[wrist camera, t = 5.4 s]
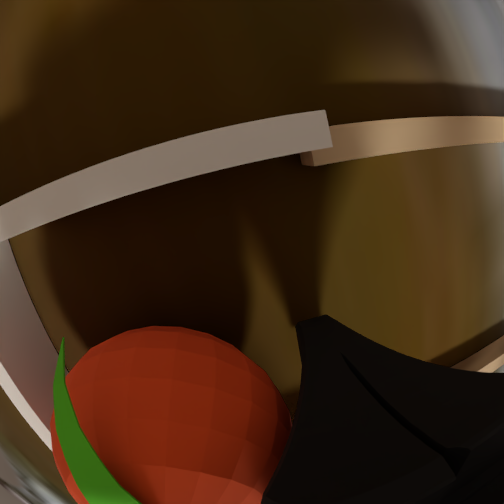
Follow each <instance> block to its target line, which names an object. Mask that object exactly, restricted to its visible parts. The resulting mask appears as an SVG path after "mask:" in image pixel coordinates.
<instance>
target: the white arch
mask: <svg viewBox="0 0 504 504" xmlns="http://www.w3.org/2000/svg"><path fill="white" fill-rule="evenodd" d="M330 147H333V145H332V140H331V135H330V130H329V125H328V120H327V116H326V111H325V110H318V111H311V112H304V113H297V114H290V115H284V116H278V117H272V118H267V119H261V120H256V121H251V122H246V123H241V124H236V125H232V126H227V127H223V128H218V129H214V130H210V131H206V132H201V133H197V134H194V135H190V136H186V137H182V138H178V139H175V140H171V141H168V142H164V143H161V144H157V145H154V146H151V147H147V148H144V149H141V150H138V151H135V152H131V153H128V154H125V155H122V156H119V157H116V158H113V159H111V160H108V161H105V162H102V163H99V164H97V165H94V166H91V167H89V168H86V169H83V170H81V171H78V172H76V173H73V174H71V175H68V176H66V177H63V178H61V179H58V180H56V181H54V182H51V183H49V184H47V185H44V186H42V187H40V188H37V189H35V190H33V191H31V192H29V193H27V194H24V195H22V196H20V197H18V198H16V199H14V200H12V201H10V202H8V203H6V204H4V205H2V206H0V385H1V386H2V388H3V389H4V391H5V392H6V394H7V395H8V397H9V398H10V399H11V401H12V402H13V404H14V405H15V406H16V408H17V409H18V410H19V412H20V413H21V414H22V416H23V417H24V418H25V420H26V421H27V422H28V423H29V425H30V426H31V427H32V428H33V430H34V431H35V432H36V433H37V434H38V436H39V437H40V438H41V439H42V440H43V441H44V443H45V444H46V445H47V446H48V447H49V448H50V449H51V450H52V442H51V431H50V421H51V417H52V413H53V409H54V398H53V382H54V376H55V371H56V366H57V361H58V356H59V355H58V353H57V352H56V350H55V348H54V346H53V344H52V342H51V340H50V338H49V337H48V335H47V333H46V331H45V329H44V327H43V325H42V323H41V321H40V318H39V316H38V314H37V312H36V310H35V308H34V306H33V303H32V301H31V299H30V296H29V294H28V292H27V289H26V287H25V285H24V282H23V280H22V277H21V275H20V272H19V269H18V267H17V264H16V261H15V258H14V256H13V253H12V250H11V247H10V244H9V241H8V239H9V238H11V237H14V236H16V235H18V234H21V233H23V232H26V231H28V230H31V229H33V228H36V227H38V226H41V225H43V224H46V223H49V222H51V221H54V220H56V219H59V218H62V217H65V216H67V215H70V214H73V213H76V212H78V211H81V210H84V209H87V208H90V207H93V206H96V205H99V204H102V203H105V202H108V201H111V200H114V199H117V198H120V197H123V196H127V195H130V194H133V193H136V192H140V191H143V190H146V189H150V188H153V187H157V186H160V185H164V184H167V183H171V182H174V181H178V180H182V179H186V178H189V177H193V176H197V175H201V174H205V173H209V172H213V171H217V170H221V169H225V168H230V167H234V166H238V165H243V164H247V163H252V162H256V161H261V160H266V159H270V158H275V157H280V156H285V155H291V154H296V153H301V152H307V151H312V150H318V149H324V148H330ZM68 373H69V372H68V371H67V369H66V367H65V377H66V376H67V374H68ZM52 452H53V451H52Z"/></svg>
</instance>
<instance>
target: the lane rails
mask: <svg viewBox="0 0 504 504" xmlns="http://www.w3.org/2000/svg"><path fill="white" fill-rule="evenodd" d="M329 130H330V135H331V140H332V145H333V147H330V148H324V149H318V150H312V151H307V152H301V153H300V158H301V163H302V165H307V166H319V165H325V164H330V163H336V162H341V161H347V160H353V159H359V158H365V157H372V156H378V155H385V154H392V153H399V152H406V151H414V150H422V149H430V148H439V147H448V146H458V145H469V144H481V143H495V142H504V117H495V116H441V117H418V118H402V119H389V120H377V121H367V122H358V123H350V124H341V125H334V126H329ZM503 364H504V335H503V336H502V337H500V338H499V339H497V340H496V341H494V342H493V343H491V344H490V345H488V346H486V347H485V348H483V349H482V350H480V351H478V352H477V353H475V354H473V355H472V356H470V357H468V358H466V359H465V360H463V361H461V362H459V363H458V364H456V365H454V366H452V367H450V368H455V369H461V370H468V371H477V372H488V373H492V372H493V371H495V370H496V369H498V368H499V367H500V366H502V365H503Z"/></svg>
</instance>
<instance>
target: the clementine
mask: <svg viewBox="0 0 504 504" xmlns="http://www.w3.org/2000/svg"><path fill="white" fill-rule="evenodd" d="M53 398H54V409H53V413H52V417H51V421H50V431H51V442H52V451H53V455H54V459H55V462H56V466H57V468H58V470H59V473H60V475H61V477H62V479H63V481H64V483H65V485H66V487H67V489H68V491H69V493H70V494H71V495H72V497H73V498H74V499H75V500H76V502H77V503H78V504H261V501H262V495H263V493H264V491H265V489H266V487H267V485H268V483H269V481H270V479H271V477H272V475H273V473H274V471H275V469H276V467H277V465H278V463H279V461H280V458H281V456H282V453H283V451H284V448H285V445H286V443H287V440H288V437H289V434H290V431H291V428H292V422H291V417H290V412H289V409H288V408H287V406H286V404H285V402H284V400H283V398H282V396H281V394H280V392H279V391H278V389H277V388H276V386H275V385H274V383H273V382H272V380H271V379H270V377H269V376H268V375H267V373H266V372H265V371H264V370H263V369H262V368H260V367H259V366H258V365H257V364H256V363H254V362H253V361H252V360H251V359H249V358H248V357H247V356H246V355H244V354H243V353H242V352H241V351H239V350H238V349H237V348H236V347H234V346H233V345H232V344H229V343H227V342H225V341H223V340H221V339H219V338H217V337H215V336H213V335H211V334H208V333H204V332H200V331H196V330H192V329H188V328H184V327H173V326H149V327H144V328H139V329H134V330H129V331H126V332H123V333H121V334H119V335H116V336H114V337H112V338H110V339H108V340H106V341H104V342H102V343H100V344H98V345H96V346H94V347H92V348H90V349H89V351H88V352H87V353H86V354H85V355H84V356H83V357H82V358H81V359H80V360H79V361H78V362H77V363H76V365H75V366H74V367H73V368H72V369H71V371H70V372H69V373H68V374H67V376H66V377H65V352H64V337H63V339H62V343H61V347H60V352H59V356H58V361H57V366H56V371H55V376H54V382H53Z"/></svg>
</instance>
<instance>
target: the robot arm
mask: <svg viewBox="0 0 504 504" xmlns="http://www.w3.org/2000/svg"><path fill="white" fill-rule="evenodd" d="M295 328H296V333H297V339H298V345H299V350H300V356H301V362H302V373H301V385H300V393H299V399H298V404H297V409H296V413H295V417H294V421H293V425H292V428H291V431H290V434H289V437H288V440H287V443H286V445H285V448H284V451H283V453H282V456H281V458H280V461H279V463H278V465H277V467H276V469H275V471H274V473H273V475H272V477H271V479H270V481H269V483H268V485H267V487H266V489H265V491H264V493H263V495H262V501H261V504H504V373H488V372H477V371H468V370H461V369H455V368H450V367H445V366H441V365H436V364H432V363H429V362H425V361H422V360H419V359H416V358H413V357H410V356H407V355H404V354H401V353H399V352H396V351H394V350H391V349H389V348H387V347H385V346H382V345H380V344H378V343H376V342H374V341H372V340H370V339H368V338H366V337H364V336H362V335H361V334H359V333H357V332H355V331H353V330H352V329H350V328H348V327H346V326H345V325H343V324H341V323H340V322H338V321H336V320H335V319H333V318H331V317H330V316H328V315H322V316H319V317H315V318H312V319H308V320H305V321H301V322H298V323H297V325H296V326H295Z"/></svg>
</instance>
